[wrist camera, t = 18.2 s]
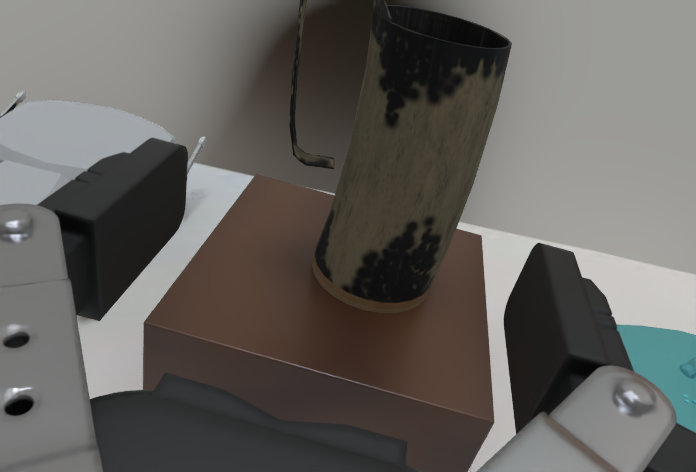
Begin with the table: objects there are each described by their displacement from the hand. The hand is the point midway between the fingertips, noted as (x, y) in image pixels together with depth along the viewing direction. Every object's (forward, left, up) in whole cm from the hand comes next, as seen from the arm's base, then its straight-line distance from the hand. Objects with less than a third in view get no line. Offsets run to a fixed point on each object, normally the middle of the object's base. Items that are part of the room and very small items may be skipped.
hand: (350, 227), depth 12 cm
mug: (0, +10, -8) cm, 13 cm away
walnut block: (0, +10, -13) cm, 16 cm away
